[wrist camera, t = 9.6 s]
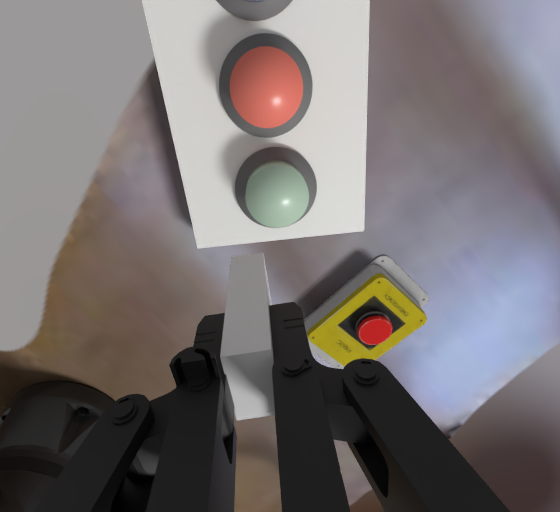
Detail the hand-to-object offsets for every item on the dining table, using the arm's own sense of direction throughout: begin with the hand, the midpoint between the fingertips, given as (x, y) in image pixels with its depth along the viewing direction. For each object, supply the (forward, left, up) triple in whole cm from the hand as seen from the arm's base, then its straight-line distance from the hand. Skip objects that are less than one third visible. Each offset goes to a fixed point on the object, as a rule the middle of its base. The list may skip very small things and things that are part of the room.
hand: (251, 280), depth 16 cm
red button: (+2, +8, -15) cm, 17 cm away
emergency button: (+10, -18, -19) cm, 28 cm away
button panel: (+2, +8, -19) cm, 20 cm away
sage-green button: (+2, 0, -15) cm, 15 cm away
